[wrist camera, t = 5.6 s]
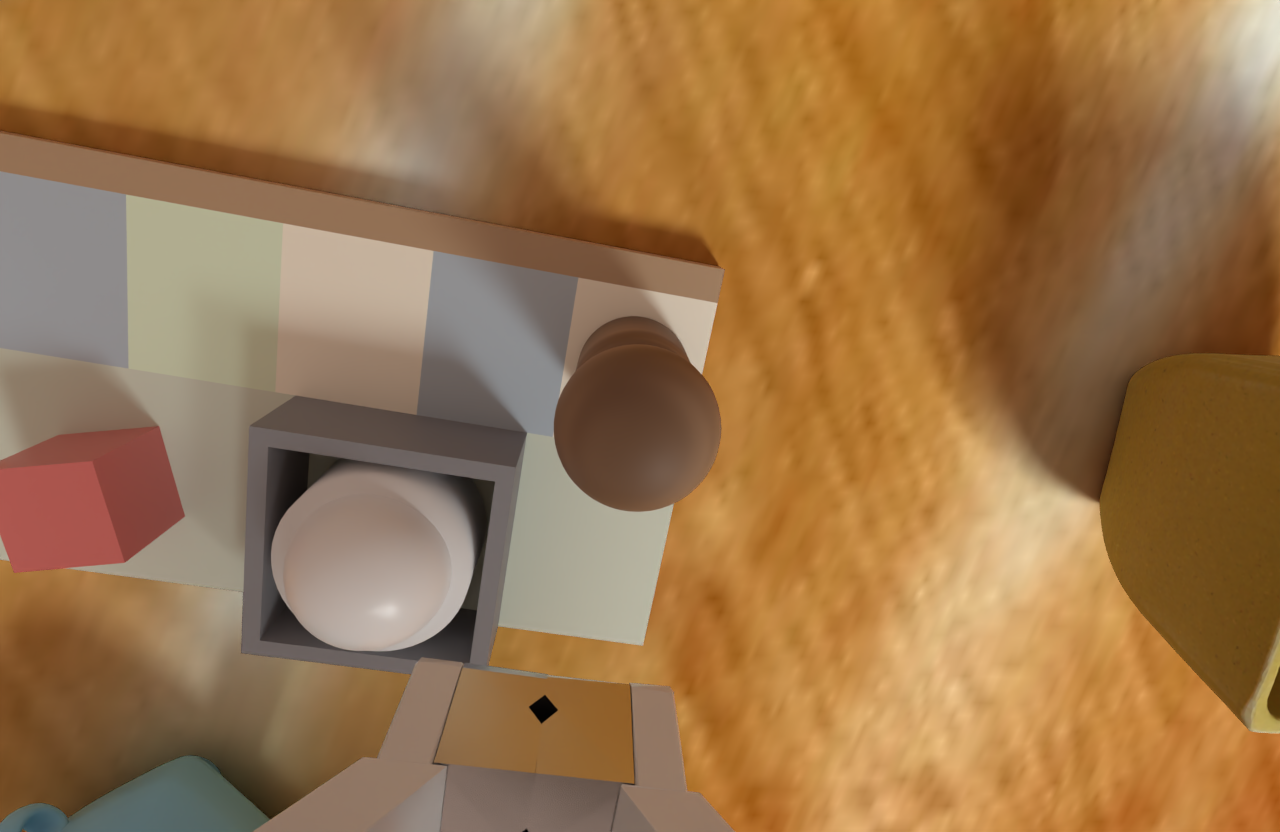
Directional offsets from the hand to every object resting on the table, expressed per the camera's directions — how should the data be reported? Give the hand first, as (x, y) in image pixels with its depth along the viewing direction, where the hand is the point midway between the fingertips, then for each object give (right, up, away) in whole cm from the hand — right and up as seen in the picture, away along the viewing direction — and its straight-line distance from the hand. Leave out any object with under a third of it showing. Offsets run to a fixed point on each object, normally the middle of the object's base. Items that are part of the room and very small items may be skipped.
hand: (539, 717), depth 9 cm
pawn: (+1, +5, +13) cm, 14 cm away
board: (-8, +4, +14) cm, 17 cm away
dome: (-6, 0, +14) cm, 16 cm away
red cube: (-15, +2, +14) cm, 20 cm away
